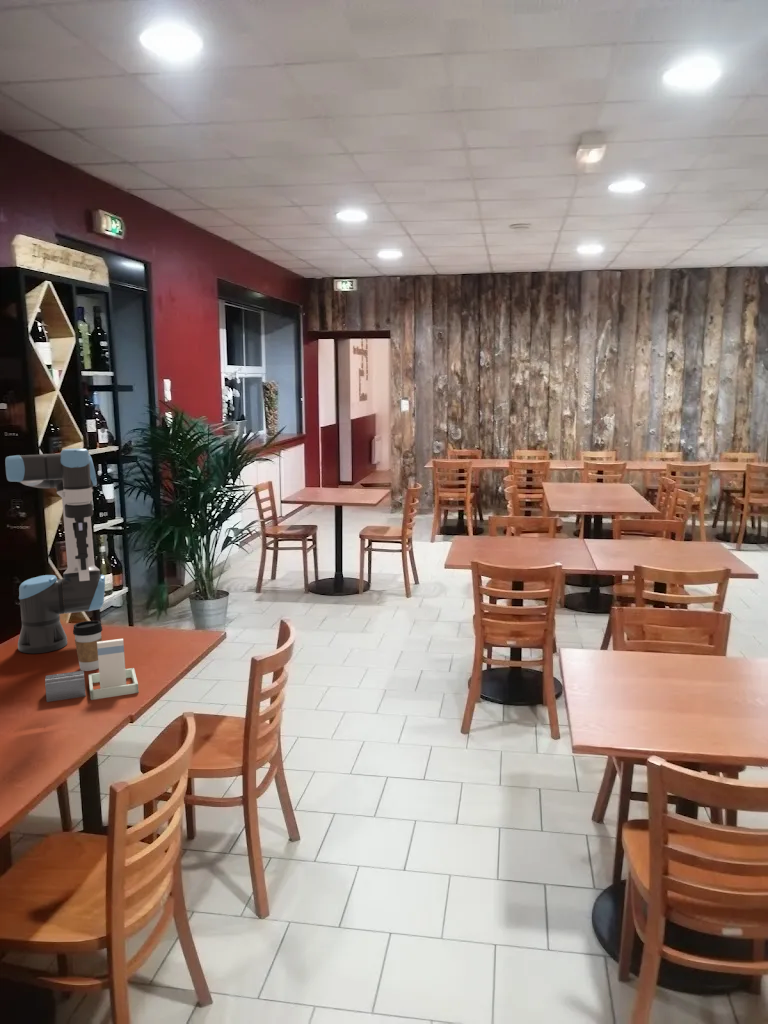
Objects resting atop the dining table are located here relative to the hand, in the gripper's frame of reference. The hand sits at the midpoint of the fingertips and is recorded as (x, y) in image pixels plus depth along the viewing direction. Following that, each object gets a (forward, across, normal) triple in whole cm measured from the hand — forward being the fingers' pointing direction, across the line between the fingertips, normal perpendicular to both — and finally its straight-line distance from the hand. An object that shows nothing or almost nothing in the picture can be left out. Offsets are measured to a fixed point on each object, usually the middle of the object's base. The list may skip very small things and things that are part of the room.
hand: (83, 575), depth 226 cm
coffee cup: (+32, -8, 0) cm, 33 cm away
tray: (+32, +12, +6) cm, 34 cm away
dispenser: (+32, +12, -7) cm, 35 cm away
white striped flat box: (+31, +12, +6) cm, 34 cm away
